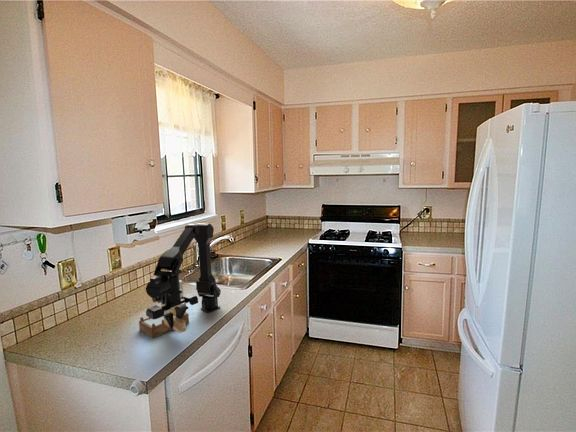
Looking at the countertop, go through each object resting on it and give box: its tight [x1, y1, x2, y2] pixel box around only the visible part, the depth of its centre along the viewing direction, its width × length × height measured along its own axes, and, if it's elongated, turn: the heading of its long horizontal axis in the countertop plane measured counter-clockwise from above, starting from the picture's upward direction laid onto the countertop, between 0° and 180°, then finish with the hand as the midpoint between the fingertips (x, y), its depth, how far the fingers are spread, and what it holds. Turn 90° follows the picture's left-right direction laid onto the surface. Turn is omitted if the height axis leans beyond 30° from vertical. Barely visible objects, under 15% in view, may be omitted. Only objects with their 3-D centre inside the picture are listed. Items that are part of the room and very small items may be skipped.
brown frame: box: [138, 311, 190, 339], centre depth 134 cm, size 16×10×5 cm, turn 140°
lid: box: [143, 308, 176, 326], centre depth 133 cm, size 14×8×5 cm, turn 140°
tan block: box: [164, 316, 187, 334], centre depth 125 cm, size 2×11×4 cm, turn 50°
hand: (174, 326), depth 125 cm, fingers closed on tan block, 2 cm apart
